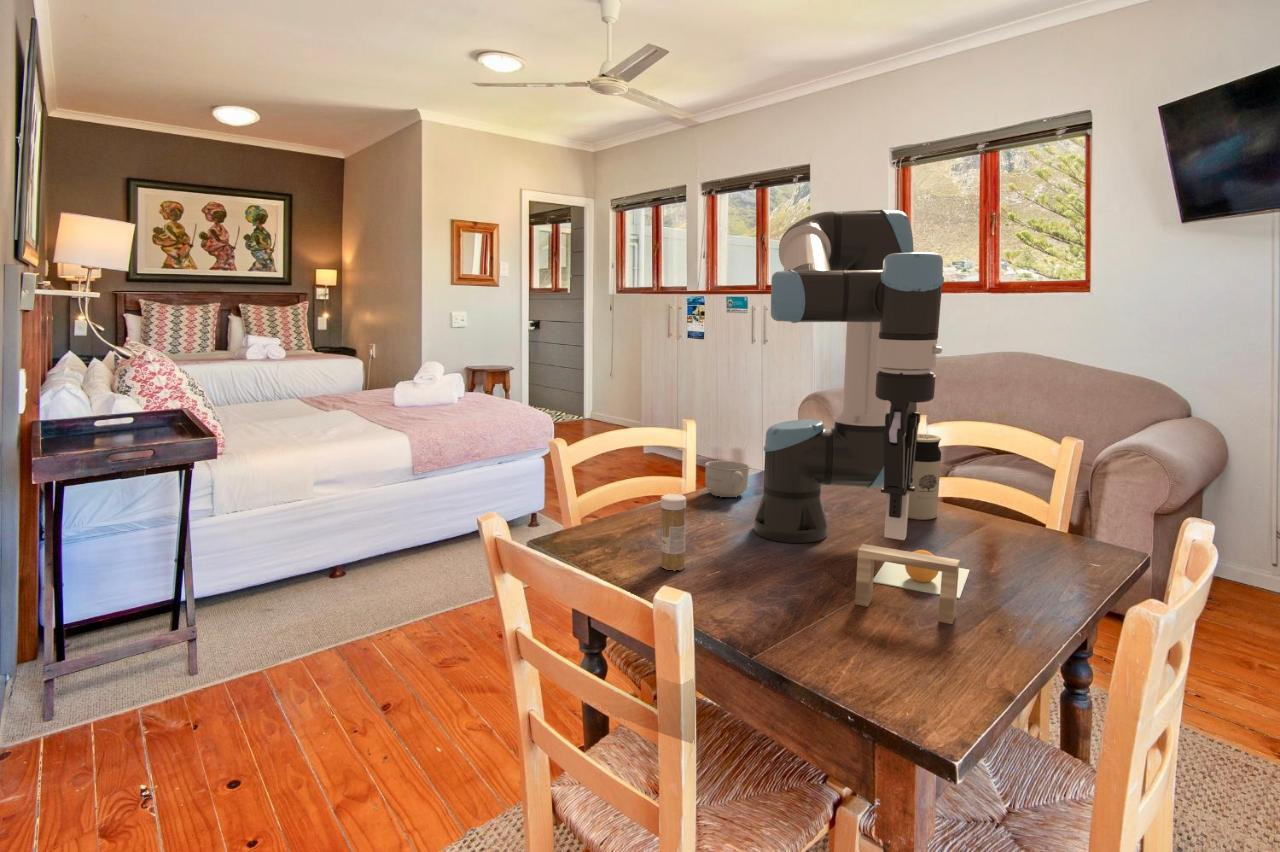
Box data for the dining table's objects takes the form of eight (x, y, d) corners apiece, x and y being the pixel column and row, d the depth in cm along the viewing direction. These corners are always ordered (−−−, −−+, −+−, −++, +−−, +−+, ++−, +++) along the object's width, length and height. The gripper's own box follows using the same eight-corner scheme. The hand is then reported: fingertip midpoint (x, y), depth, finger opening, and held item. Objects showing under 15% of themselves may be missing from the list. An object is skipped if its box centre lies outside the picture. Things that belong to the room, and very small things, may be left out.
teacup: (701, 490, 184) (701, 459, 183) (743, 488, 185) (744, 458, 184) (711, 505, 171) (711, 472, 169) (756, 504, 171) (757, 471, 170)
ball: (910, 554, 129) (904, 583, 127) (906, 542, 125) (900, 572, 123) (943, 559, 127) (938, 589, 124) (940, 548, 122) (934, 578, 120)
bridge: (952, 624, 109) (956, 566, 107) (855, 604, 116) (857, 549, 115) (955, 616, 112) (959, 560, 110) (859, 597, 119) (862, 544, 117)
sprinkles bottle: (658, 564, 134) (658, 493, 131) (682, 562, 135) (682, 492, 132) (663, 573, 129) (663, 500, 127) (688, 571, 130) (688, 499, 128)
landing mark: (871, 582, 125) (871, 581, 125) (889, 556, 137) (889, 555, 137) (959, 598, 118) (959, 597, 118) (969, 570, 130) (969, 569, 130)
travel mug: (895, 509, 167) (900, 432, 164) (931, 510, 166) (937, 433, 162) (902, 520, 159) (908, 439, 156) (940, 521, 158) (946, 440, 155)
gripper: (927, 377, 90) (914, 556, 95) (943, 366, 101) (931, 528, 106) (865, 374, 94) (856, 546, 98) (887, 364, 105) (878, 520, 109)
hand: (895, 536), depth 102 cm, fingers closed
